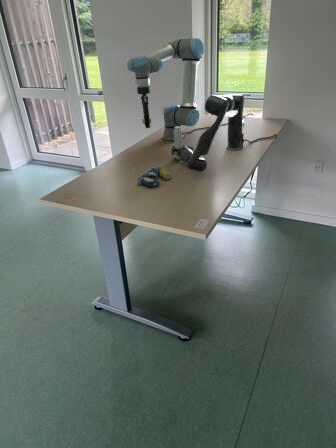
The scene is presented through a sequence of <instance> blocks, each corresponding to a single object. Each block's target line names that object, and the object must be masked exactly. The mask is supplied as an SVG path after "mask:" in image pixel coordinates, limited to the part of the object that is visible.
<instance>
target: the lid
mask: <svg viewBox="0 0 336 448" xmlns="http://www.w3.org/2000/svg"><path fill="white" fill-rule="evenodd" d="M141 120H142V124H143V125H145V118H144V117H143V118H142V119H141ZM149 121H150V124H151V123H152V118H151V117H149Z"/></svg>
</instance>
